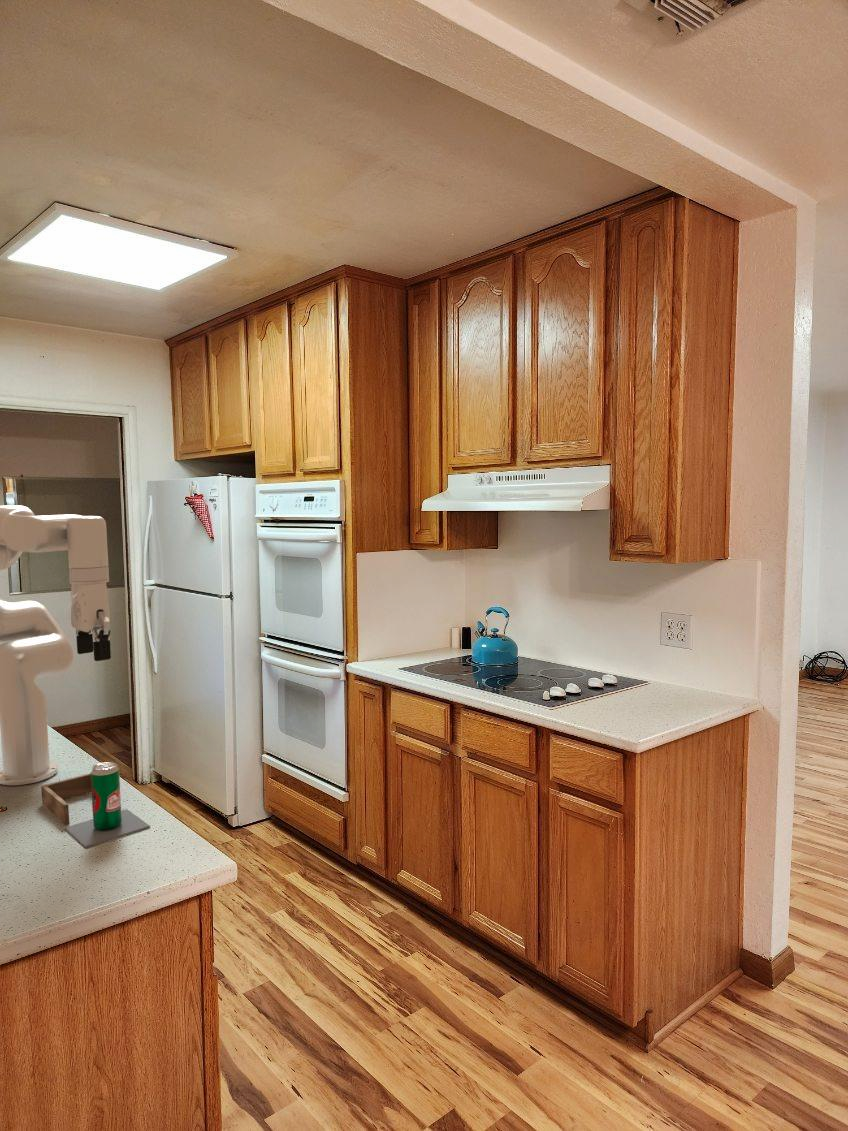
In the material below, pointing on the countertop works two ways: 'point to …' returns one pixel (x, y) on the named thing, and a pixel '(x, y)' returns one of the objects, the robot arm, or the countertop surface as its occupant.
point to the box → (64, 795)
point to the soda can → (106, 796)
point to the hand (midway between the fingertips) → (93, 656)
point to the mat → (93, 836)
